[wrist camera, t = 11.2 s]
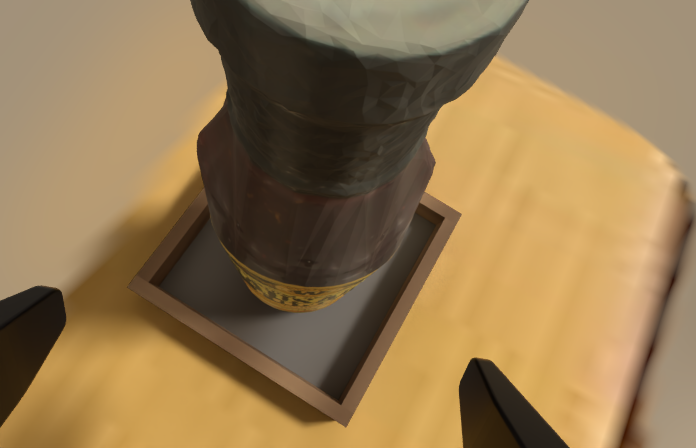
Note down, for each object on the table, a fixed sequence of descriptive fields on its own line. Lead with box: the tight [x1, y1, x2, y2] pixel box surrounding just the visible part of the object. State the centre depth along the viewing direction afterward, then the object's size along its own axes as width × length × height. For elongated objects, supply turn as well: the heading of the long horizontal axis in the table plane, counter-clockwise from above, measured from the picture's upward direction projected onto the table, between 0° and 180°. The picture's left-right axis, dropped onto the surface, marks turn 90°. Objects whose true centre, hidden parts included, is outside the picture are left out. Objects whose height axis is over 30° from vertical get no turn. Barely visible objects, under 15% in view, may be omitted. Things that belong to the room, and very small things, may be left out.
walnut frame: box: [127, 188, 462, 427], centre depth 23 cm, size 12×12×2 cm
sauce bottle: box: [190, 0, 529, 313], centre depth 14 cm, size 6×6×20 cm
